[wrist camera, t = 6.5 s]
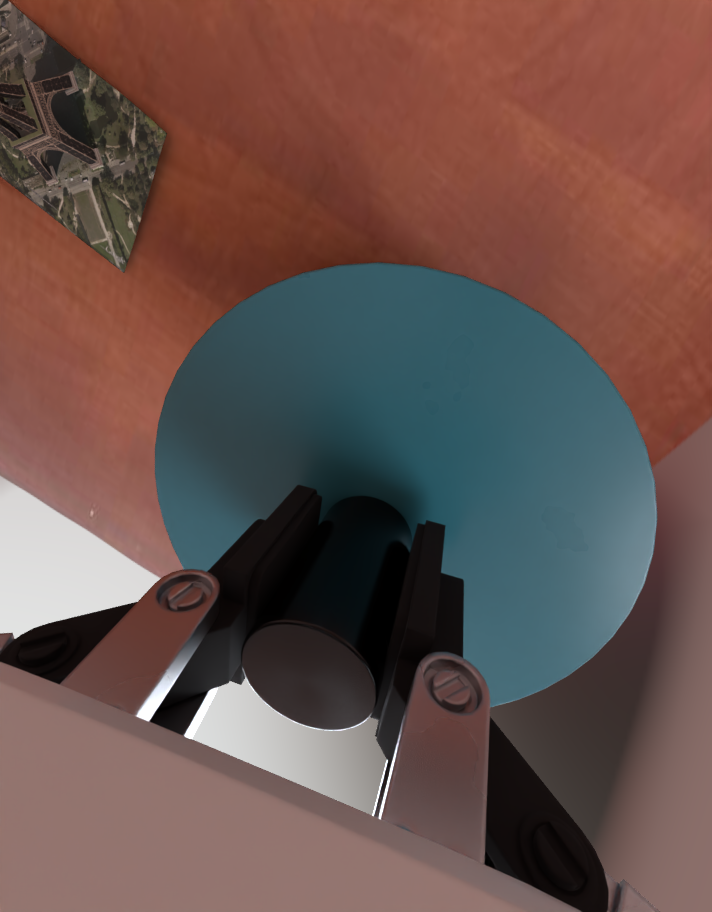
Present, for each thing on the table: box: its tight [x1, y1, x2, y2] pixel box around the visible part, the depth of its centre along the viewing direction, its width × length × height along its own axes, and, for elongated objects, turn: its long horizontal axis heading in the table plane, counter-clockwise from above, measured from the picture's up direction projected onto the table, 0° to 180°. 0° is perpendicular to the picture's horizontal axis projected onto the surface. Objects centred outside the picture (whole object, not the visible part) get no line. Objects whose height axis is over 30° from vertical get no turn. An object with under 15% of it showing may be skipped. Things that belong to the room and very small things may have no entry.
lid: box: [155, 262, 657, 731], centre depth 10 cm, size 15×15×6 cm
